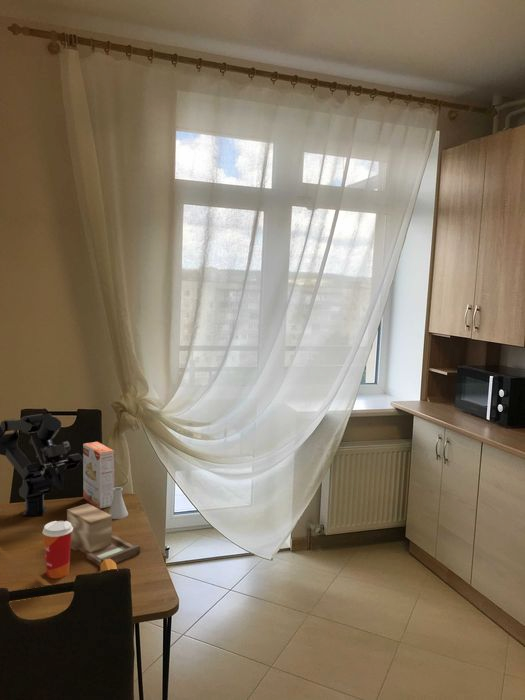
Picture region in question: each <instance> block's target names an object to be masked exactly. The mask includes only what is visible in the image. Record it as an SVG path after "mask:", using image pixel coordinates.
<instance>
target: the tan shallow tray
mask: <svg viewBox="0 0 525 700" xmlns="http://www.w3.org/2000/svg"><path fill="white" fill-rule="evenodd" d="M71 550H72V551H74V552H76V551H80V552H82V553H83V554H85V555H86V559H87V560H89V561H90V562H93V563H94V564H96V565H97V566H98V567H100V566H101V563H102V562H103V561H104V560H105V559H111V560H113V561H114V562H115V563H116V564H118V563H119V562H121V561H125V560H127V559H129V558H132V557H134V556H136V555H139V554H141V545H139V544H135V545H134V544H131V543H129V542H127V541H126V540H124V539H122V538H120V537H118V536H117V535H114V534H113V533H112V545H110V546H107V547H104V548H102V549H99V550H96V551H93V552H89V551H87V550H86V549H84V548H82V547H81V546H79V545H77V544H76V543H74V542H72V541H71Z"/></svg>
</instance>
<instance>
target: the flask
mask: <svg viewBox="0 0 525 700" xmlns="http://www.w3.org/2000/svg"><path fill="white" fill-rule="evenodd" d="M123 489H124V488H123V487H122V486H121V487H120V486H119V487H118V486H117V487H114V488H113V491H114V496H113V501H112V504H111V507H110V506H109V510H108V514H110V515H112V520H121V519H124V518H126V517H127V516H129V512H128V510H127V507H126V504H125V501H124V499H123V494H122V493H123Z"/></svg>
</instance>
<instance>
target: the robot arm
mask: <svg viewBox="0 0 525 700" xmlns="http://www.w3.org/2000/svg"><path fill="white" fill-rule="evenodd" d="M61 427H62V422H61V420H60V419H59V418H57V417H55V416H52V413H47V414H43V413H39V414H31V415H25V416H23V417H21V418H11V419H10V418H9V419H3V420H2V421H1V422H0V455H1V456H5V457H6V458H7V460H8V461H9V463H10V464H11V465H12V466H13V468H14V469H15V470H16V471H17V473H18V474H19V475H20V477H21V479H22V484H21V486H20V487H19V489H18V494H19V497H21V498H22V499H24V500H25V509H24V512H23V513H22V516H23V517H25V516H26V517H29V516H43V515H44V514H45V512H46V511H47V506H44V505H45V501H44V500H45V498H44V497H45V495H47V494H48V495H49V494H50V493H51V489H52V485H53V486H55V487H56V488H57V489H58V490H60V491H61V490H63V489H64V484H65V483H64V473H65V470H67V471H70V470H74V469H76V468H78V466H79V465H80V463H81V462H83V457H82V455H81V454H80V453H73V454H69V455H67V453H68V452H70V451H71V450H72V448H71V445H70V442H69V440H66V441H62V442H61V443H60V444H54V443H53V439H54V438H55V437H56V435H57V434H58V432H59V431H60V429H61ZM9 431H13V432H9ZM19 431H21V433H24V434H31V433H33V434H32V435H31V436H30V439H29V445H32V446H33V448H34V450H35V453H36V456H35V458H36V460H39V462H37V461H35V462H31V461H30V460H29V459H28V457H27V456H26V455H25V454H24V453H23V452H22V450H21V449H20V447H18V443H19V440H20V437H21V436H20V433H19ZM63 455H67V457H66V458H65V459H63V458H64V456H63ZM61 459H63V460H61Z"/></svg>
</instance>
